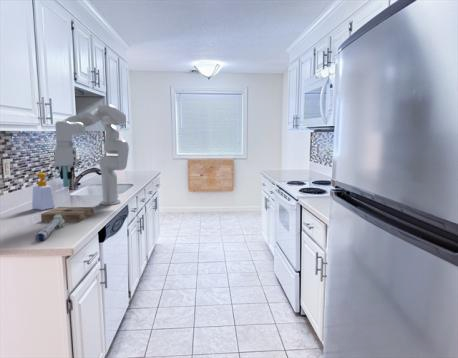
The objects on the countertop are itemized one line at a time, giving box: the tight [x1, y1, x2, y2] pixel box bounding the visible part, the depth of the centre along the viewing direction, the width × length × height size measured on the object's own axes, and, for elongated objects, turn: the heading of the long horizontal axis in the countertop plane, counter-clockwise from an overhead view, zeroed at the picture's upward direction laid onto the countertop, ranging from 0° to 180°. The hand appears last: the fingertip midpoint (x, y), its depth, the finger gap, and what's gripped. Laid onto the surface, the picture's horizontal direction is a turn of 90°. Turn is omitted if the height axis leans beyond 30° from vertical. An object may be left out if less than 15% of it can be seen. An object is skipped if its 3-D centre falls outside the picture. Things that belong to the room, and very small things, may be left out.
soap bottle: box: [26, 172, 56, 211], centre depth 192 cm, size 10×14×22 cm
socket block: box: [40, 206, 95, 223], centre depth 175 cm, size 17×20×4 cm
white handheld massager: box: [34, 215, 66, 242], centre depth 148 cm, size 5×7×25 cm
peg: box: [62, 166, 71, 188], centre depth 172 cm, size 3×3×12 cm
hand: (66, 178), depth 172 cm, fingers closed on peg, 3 cm apart
